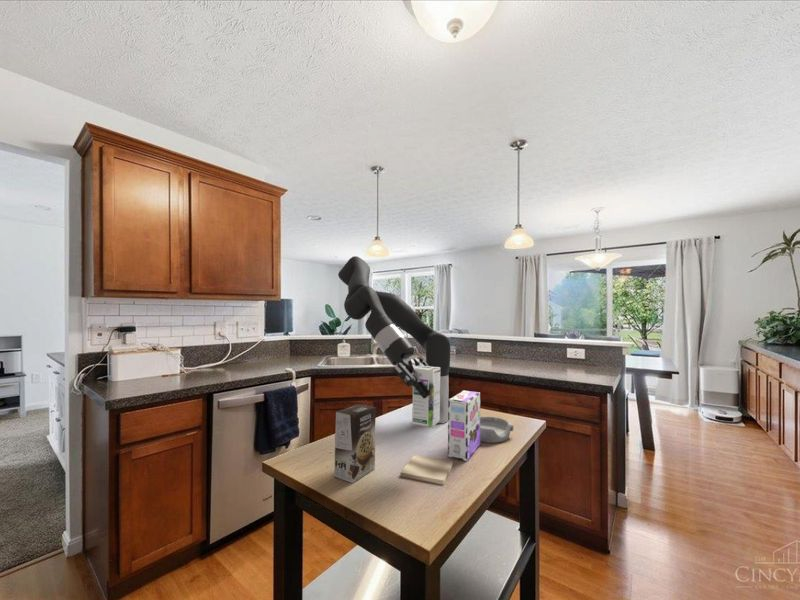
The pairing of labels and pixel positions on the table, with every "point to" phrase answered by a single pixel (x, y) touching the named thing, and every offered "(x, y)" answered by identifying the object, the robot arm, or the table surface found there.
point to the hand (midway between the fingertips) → (432, 393)
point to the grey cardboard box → (354, 442)
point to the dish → (494, 429)
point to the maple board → (427, 469)
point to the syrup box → (429, 407)
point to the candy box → (463, 425)
